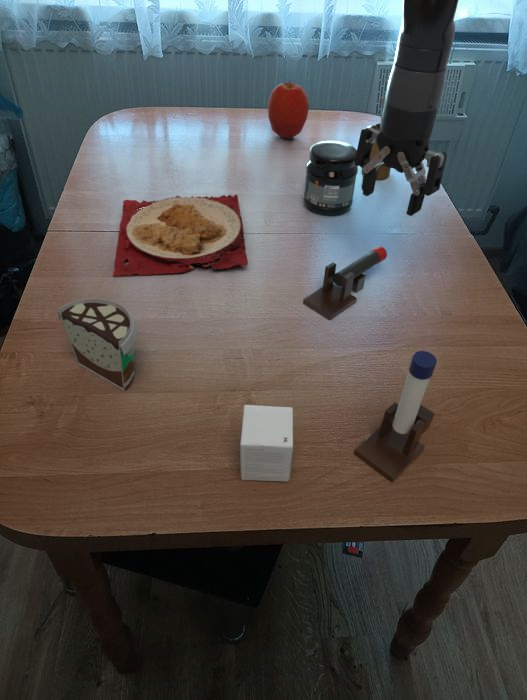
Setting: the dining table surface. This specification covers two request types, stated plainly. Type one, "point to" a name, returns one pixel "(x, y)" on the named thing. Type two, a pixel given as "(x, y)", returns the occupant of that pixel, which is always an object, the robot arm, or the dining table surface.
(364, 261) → the black marker
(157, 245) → the plate with food
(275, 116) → the apple
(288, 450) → the product box
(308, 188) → the supplement container
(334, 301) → the black marker stand
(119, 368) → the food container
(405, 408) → the white marker
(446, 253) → the dining table surface
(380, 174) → the mortar and pestle
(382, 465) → the white marker stand
